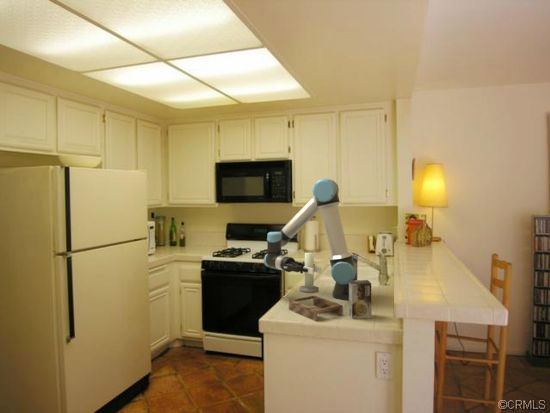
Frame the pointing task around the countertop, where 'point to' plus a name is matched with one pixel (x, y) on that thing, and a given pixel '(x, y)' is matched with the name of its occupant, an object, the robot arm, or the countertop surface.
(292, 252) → the countertop surface
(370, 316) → the coffee box
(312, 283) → the cream rod gray base
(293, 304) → the brown square frame
